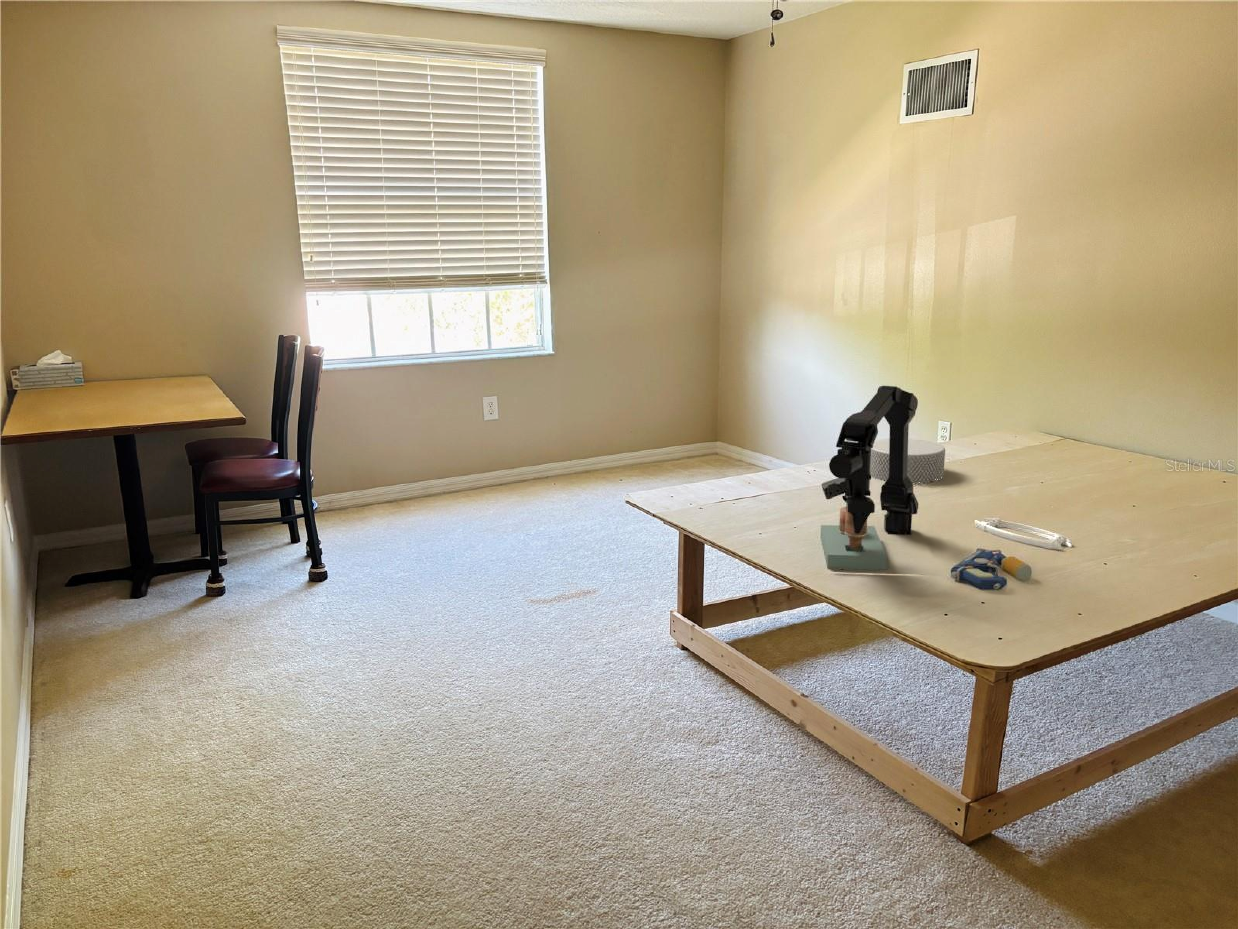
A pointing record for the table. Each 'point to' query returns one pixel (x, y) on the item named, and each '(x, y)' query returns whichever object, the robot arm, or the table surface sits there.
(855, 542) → the peg
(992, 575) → the spray gun
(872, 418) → the robot arm
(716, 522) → the table surface
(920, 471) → the knob
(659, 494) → the table surface
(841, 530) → the seated peg
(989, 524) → the door handle
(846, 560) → the board
